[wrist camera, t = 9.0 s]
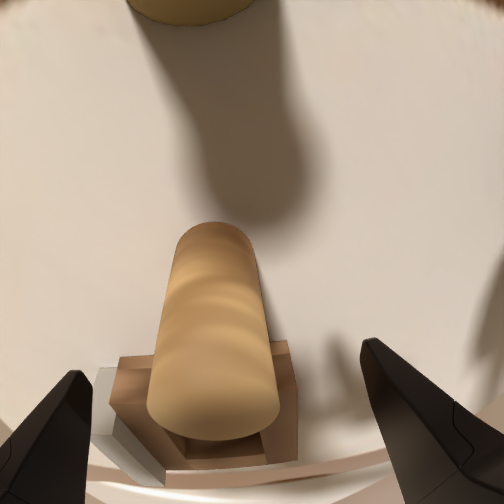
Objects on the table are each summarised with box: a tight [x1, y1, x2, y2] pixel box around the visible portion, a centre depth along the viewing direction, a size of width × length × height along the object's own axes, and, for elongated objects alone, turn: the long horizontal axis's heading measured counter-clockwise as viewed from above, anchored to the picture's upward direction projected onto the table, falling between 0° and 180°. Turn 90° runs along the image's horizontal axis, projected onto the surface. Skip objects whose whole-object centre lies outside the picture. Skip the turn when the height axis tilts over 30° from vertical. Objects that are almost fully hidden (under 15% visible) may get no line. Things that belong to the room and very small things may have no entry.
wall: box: [90, 368, 166, 487], centre depth 18 cm, size 2×9×5 cm, turn 6°
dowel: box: [147, 222, 280, 441], centre depth 11 cm, size 4×4×8 cm
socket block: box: [109, 340, 298, 470], centre depth 19 cm, size 10×10×4 cm
